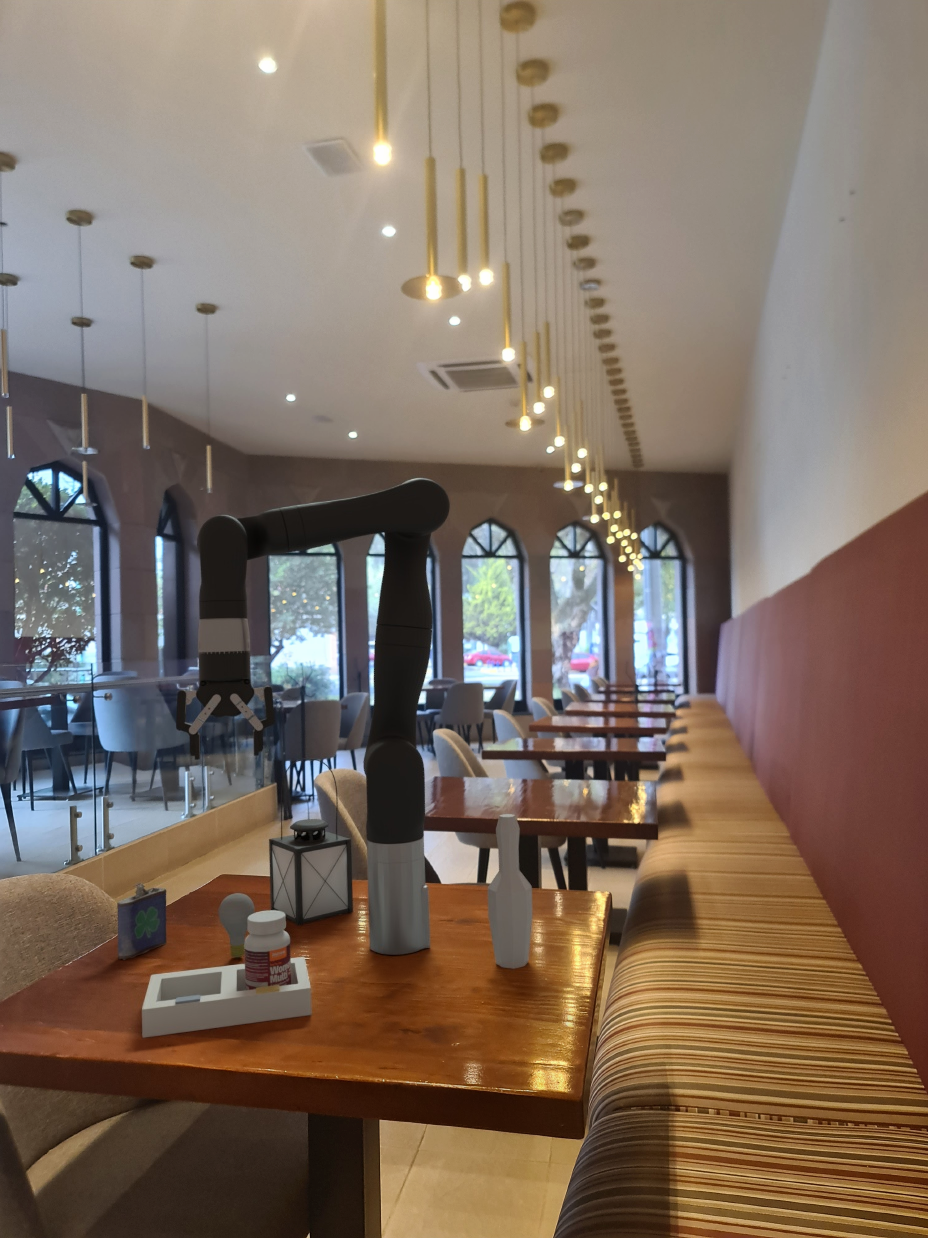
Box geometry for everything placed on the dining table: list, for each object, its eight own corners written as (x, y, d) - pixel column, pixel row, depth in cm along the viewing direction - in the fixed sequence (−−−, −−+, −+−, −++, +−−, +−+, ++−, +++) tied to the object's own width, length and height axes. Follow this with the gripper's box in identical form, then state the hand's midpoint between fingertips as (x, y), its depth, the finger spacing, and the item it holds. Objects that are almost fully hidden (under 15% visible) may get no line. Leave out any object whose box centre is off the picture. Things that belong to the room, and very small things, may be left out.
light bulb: (246, 965, 134) (244, 899, 134) (213, 963, 135) (211, 898, 135) (261, 952, 139) (259, 889, 139) (229, 951, 140) (228, 888, 140)
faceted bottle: (541, 961, 131) (536, 814, 132) (514, 974, 127) (509, 821, 127) (509, 952, 136) (504, 810, 136) (482, 964, 131) (477, 816, 132)
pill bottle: (277, 1010, 116) (275, 924, 116) (236, 1006, 117) (234, 921, 118) (299, 992, 121) (297, 910, 122) (260, 988, 123) (258, 907, 124)
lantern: (353, 912, 158) (350, 757, 159) (298, 926, 151) (294, 764, 152) (323, 899, 167) (320, 752, 168) (269, 912, 160) (266, 758, 161)
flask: (125, 961, 137) (123, 892, 137) (112, 958, 138) (111, 890, 139) (170, 942, 145) (169, 877, 145) (158, 940, 146) (156, 876, 147)
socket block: (305, 981, 126) (304, 954, 127) (311, 1015, 115) (310, 985, 115) (151, 1000, 121) (151, 972, 121) (142, 1038, 110) (141, 1007, 110)
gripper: (271, 647, 137) (274, 751, 137) (176, 650, 133) (178, 757, 133) (273, 647, 130) (276, 757, 129) (173, 651, 126) (175, 763, 126)
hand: (227, 757), depth 131 cm, fingers open, 8 cm apart
